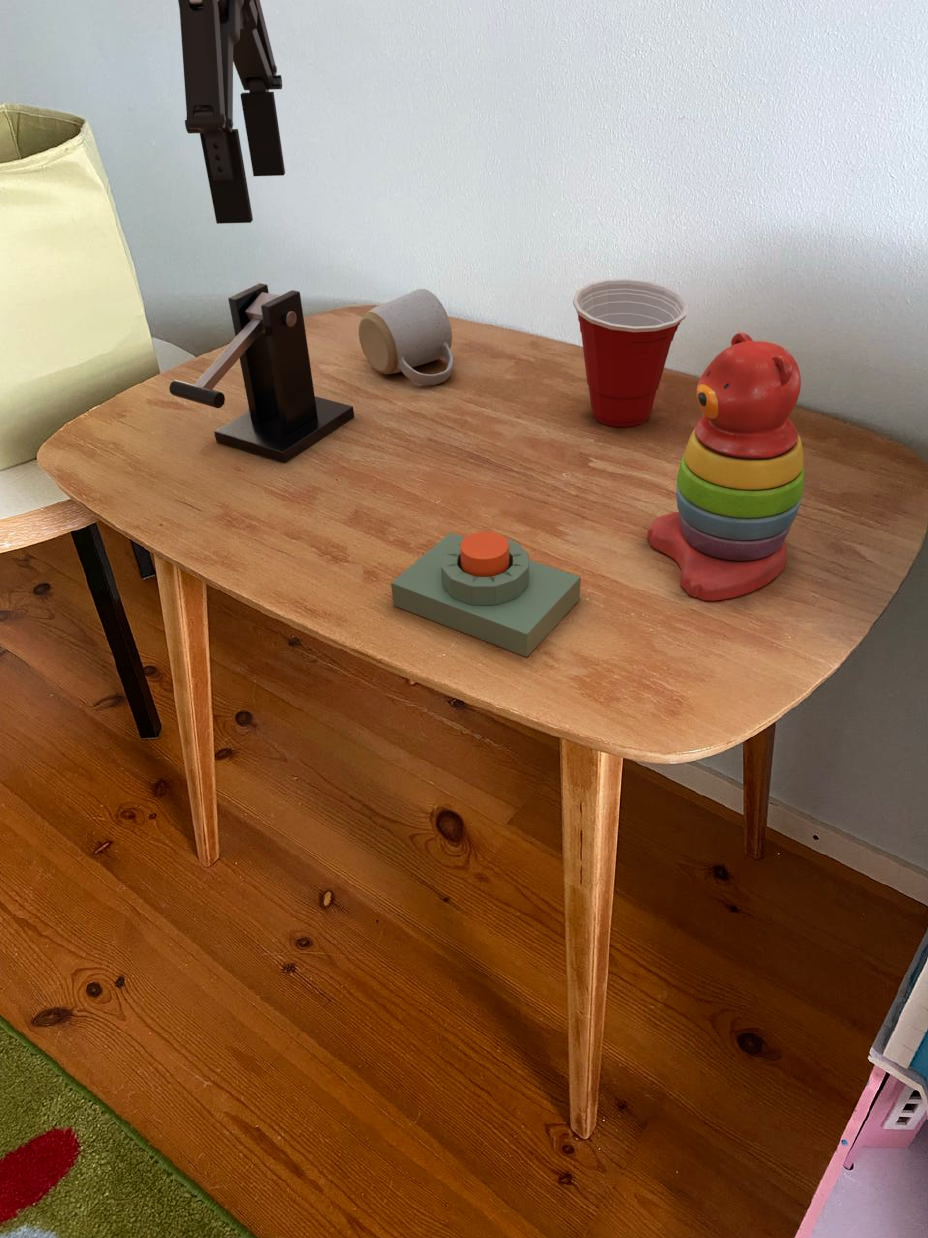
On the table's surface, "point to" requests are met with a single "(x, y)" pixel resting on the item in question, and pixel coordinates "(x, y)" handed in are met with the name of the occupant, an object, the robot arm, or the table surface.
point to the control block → (488, 596)
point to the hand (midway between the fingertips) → (253, 197)
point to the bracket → (278, 383)
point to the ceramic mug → (408, 336)
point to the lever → (224, 360)
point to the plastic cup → (626, 345)
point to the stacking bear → (737, 474)
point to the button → (484, 554)
